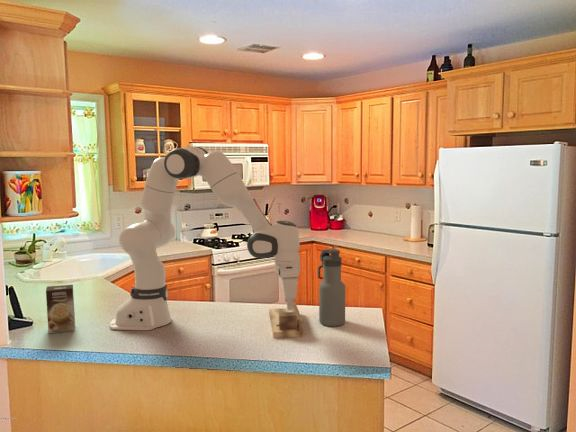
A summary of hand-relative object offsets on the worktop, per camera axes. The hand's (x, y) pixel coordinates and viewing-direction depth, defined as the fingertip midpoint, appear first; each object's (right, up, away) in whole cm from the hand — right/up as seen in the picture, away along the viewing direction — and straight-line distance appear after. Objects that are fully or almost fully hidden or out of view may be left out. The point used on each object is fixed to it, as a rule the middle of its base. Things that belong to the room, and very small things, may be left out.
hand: (288, 305), depth 176 cm
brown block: (0, -8, +1) cm, 8 cm away
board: (-2, -9, +10) cm, 14 cm away
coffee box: (-84, -11, +8) cm, 85 cm away
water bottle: (+16, -9, +12) cm, 22 cm away
